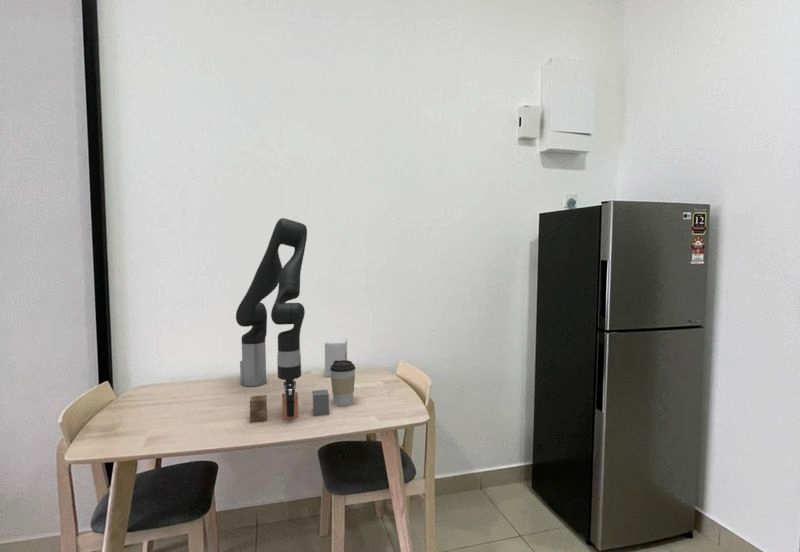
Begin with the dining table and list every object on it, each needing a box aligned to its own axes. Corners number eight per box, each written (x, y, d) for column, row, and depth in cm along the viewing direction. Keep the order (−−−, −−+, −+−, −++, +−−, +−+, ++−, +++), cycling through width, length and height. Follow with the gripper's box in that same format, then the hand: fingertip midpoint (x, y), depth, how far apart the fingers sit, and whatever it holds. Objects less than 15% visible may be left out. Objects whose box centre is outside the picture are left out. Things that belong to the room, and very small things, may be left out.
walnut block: (250, 423, 138) (249, 401, 138) (251, 417, 143) (250, 396, 143) (266, 421, 140) (266, 400, 139) (267, 415, 144) (266, 394, 144)
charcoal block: (313, 416, 144) (313, 395, 143) (312, 410, 148) (312, 390, 148) (329, 414, 145) (328, 394, 144) (327, 409, 150) (327, 389, 149)
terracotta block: (282, 419, 141) (282, 398, 140) (282, 413, 146) (282, 393, 145) (298, 417, 142) (298, 397, 142) (297, 412, 147) (297, 392, 147)
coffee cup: (359, 399, 159) (359, 359, 158) (349, 408, 150) (348, 366, 149) (337, 396, 162) (337, 357, 161) (326, 405, 153) (325, 363, 152)
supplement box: (345, 377, 186) (345, 342, 185) (324, 377, 186) (324, 343, 185) (347, 371, 195) (347, 338, 194) (327, 371, 195) (327, 338, 194)
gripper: (301, 368, 137) (303, 420, 138) (299, 356, 151) (300, 404, 152) (277, 369, 135) (278, 423, 136) (277, 358, 149) (278, 406, 150)
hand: (290, 412), depth 144 cm, fingers closed on terracotta block, 5 cm apart
